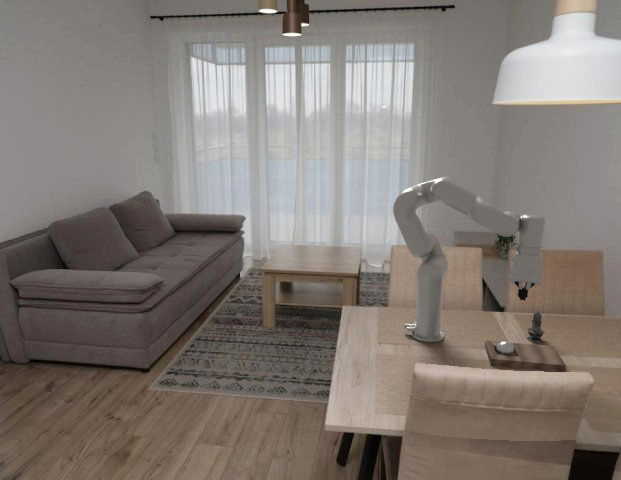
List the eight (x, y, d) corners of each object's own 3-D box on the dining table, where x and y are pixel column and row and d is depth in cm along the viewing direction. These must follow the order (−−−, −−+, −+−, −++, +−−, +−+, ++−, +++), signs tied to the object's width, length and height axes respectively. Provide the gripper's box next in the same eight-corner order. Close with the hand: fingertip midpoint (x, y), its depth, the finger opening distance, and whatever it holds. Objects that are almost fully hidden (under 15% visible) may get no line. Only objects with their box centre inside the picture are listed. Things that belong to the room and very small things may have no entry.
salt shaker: (544, 343, 188) (548, 314, 185) (528, 342, 189) (531, 313, 186) (540, 336, 193) (544, 308, 190) (525, 335, 194) (528, 307, 192)
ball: (517, 359, 173) (500, 362, 174) (514, 351, 178) (497, 355, 180) (513, 343, 172) (495, 347, 173) (510, 336, 178) (493, 340, 179)
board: (490, 365, 171) (491, 358, 170) (484, 346, 185) (485, 340, 184) (565, 372, 166) (565, 365, 165) (553, 352, 180) (553, 346, 180)
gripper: (507, 250, 169) (501, 300, 174) (554, 254, 166) (546, 305, 171) (504, 245, 176) (498, 293, 181) (549, 248, 173) (542, 297, 178)
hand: (522, 298), depth 176 cm, fingers closed
